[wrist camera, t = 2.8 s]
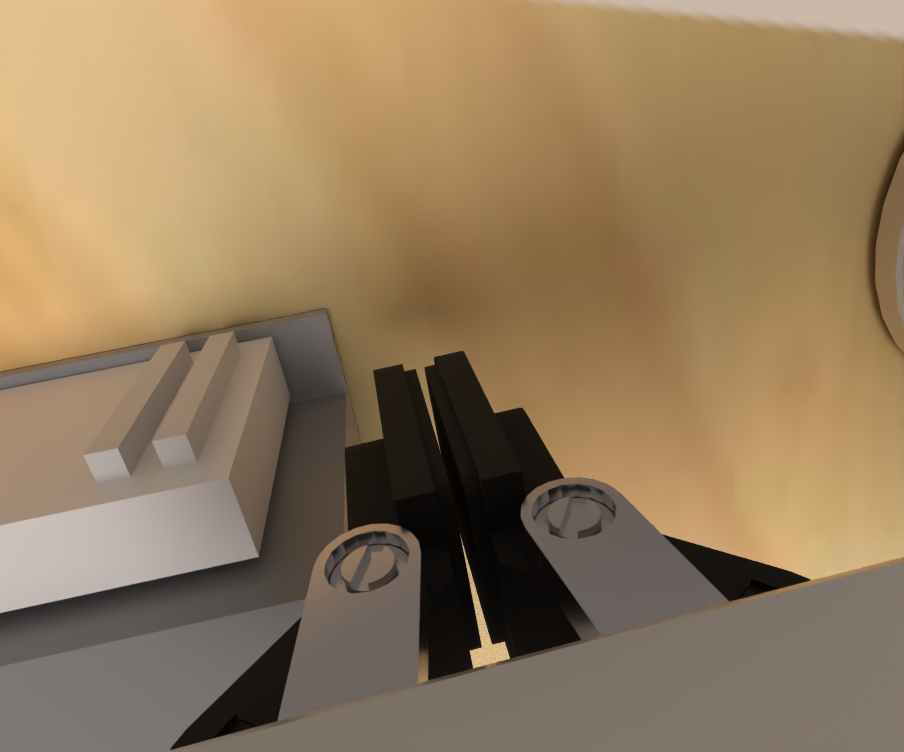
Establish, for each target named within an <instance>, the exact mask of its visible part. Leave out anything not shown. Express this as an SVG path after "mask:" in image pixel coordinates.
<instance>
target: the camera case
mask: <svg viewBox="0 0 904 752" xmlns="http://www.w3.org/2000/svg"><path fill="white" fill-rule="evenodd" d="M232 331H234V334H235V337H236V340H237V343H241V342H246V341H252V340H257V339H262V338H267V337H272V338H273V341H274V345H275V348H276V351H277V354H278V358H279V361H280V364H281V367H282V370H283V374H284V377H285V380H286V383H287V387H288V390H289V393H290V400H289V405H288V410H287V415H286V421H285V426H284V431H283V436H282V441H281V446H280V451H279V456H278V462H277V467H276V472H275V477H274V482H273V487H272V492H271V497H270V503H269V508H268V513H267V518H266V523H265V528H264V533H263V538H262V544H261V549H260V554H259V557H256V558H251V559H247V560H242V561H238V562H233V563H228V564H224V565H219V566H215V567H210V568H205V569H201V570H196V571H192V572H187V573H182V574H178V575H173V576H168V577H164V578H159V579H155V580H150V581H145V582H141V583H136V584H132V585H127V586H122V587H118V588H113V589H109V590H104V591H99V592H95V593H90V594H85V595H81V596H76V597H72V598H67V599H62V600H58V601H53V602H49V603H44V604H39V605H35V606H30V607H25V608H21V609H16V610H12V611H7V612H2V613H0V752H166V751H169V750H170V749H171V747H172V746H173V745H174V743H175V742H176V741H177V740H178V739H179V737H180V736H181V735H182V734H183V733H184V731H185V730H186V729H187V728H188V727H189V726H190V725H191V724H192V723H193V722H194V721H195V720H196V719H197V718H198V717H199V716H200V715H201V714H202V713H203V712H204V711H205V710H206V709H208V708H209V707H210V706H211V705H212V704H213V703H214V702H215V701H216V700H217V699H218V698H219V697H220V696H221V695H222V694H223V693H224V692H225V691H226V690H227V689H228V688H229V687H230V686H231V685H232V684H233V683H234V682H235V681H236V680H237V679H238V678H239V677H240V676H241V675H242V674H243V673H244V672H245V671H246V670H247V669H248V668H249V667H250V666H251V665H252V664H254V663H255V662H256V661H257V660H258V659H259V658H260V657H261V656H262V655H263V654H264V653H265V652H266V651H267V650H268V649H269V648H270V647H271V646H272V645H273V644H274V643H275V642H276V641H277V640H278V639H279V638H280V637H281V636H282V635H283V634H284V633H285V632H286V631H287V630H288V629H289V628H290V627H291V626H292V625H293V624H294V623H295V622H296V621H297V620H298V619H300V618H301V617H302V613H303V609H304V605H305V601H306V596H307V592H308V588H309V584H310V579H311V575H312V571H313V567H314V565H315V562H316V560H317V558H318V556H319V554H320V553H321V552H322V551H323V550H324V548H325V547H326V546H327V545H328V544H329V543H330V542H332V541H333V540H335V539H336V538H337V537H339V536H340V535H342V534H344V533H346V532H348V520H347V497H346V474H345V448H346V447H349V446H354V445H358V444H362V443H361V439H360V436H359V432H358V428H357V424H356V420H355V416H354V413H353V409H352V405H351V401H350V397H349V393H348V390H347V386H346V382H345V378H344V374H343V370H342V367H341V363H340V359H339V355H338V351H337V347H336V344H335V340H334V336H333V332H332V328H331V324H330V321H329V317H328V313H327V309H321V310H316V311H311V312H306V313H301V314H296V315H291V316H286V317H281V318H275V319H270V320H265V321H260V322H255V323H250V324H245V325H240V326H234V327H229V328H224V329H219V330H214V331H209V332H204V333H199V334H193V335H188V336H183V337H178V338H173V339H168V340H163V341H158V342H153V343H147V344H142V345H137V346H132V347H127V348H122V349H117V350H112V351H106V352H101V353H96V354H91V355H86V356H81V357H76V358H71V359H66V360H60V361H55V362H50V363H45V364H40V365H35V366H30V367H25V368H19V369H14V370H9V371H4V372H0V390H3V389H8V388H13V387H18V386H23V385H28V384H33V383H38V382H43V381H48V380H54V379H59V378H64V377H69V376H74V375H79V374H84V373H89V372H94V371H99V370H104V369H109V368H114V367H120V366H125V365H130V364H135V363H140V362H145V361H150V360H151V358H152V357H153V356H154V354H155V353H156V351H157V350H158V349H159V347H160V346H161V345H166V344H171V343H176V342H181V341H185V342H186V345H187V347H188V350H189V353H191V352H196V351H201V350H202V349H203V347H204V345H205V343H206V341H207V339H208V338H209V336H212V335H217V334H222V333H227V332H232Z"/></svg>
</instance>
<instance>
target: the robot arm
mask: <svg viewBox="0 0 904 752" xmlns="http://www.w3.org/2000/svg"><path fill="white" fill-rule="evenodd" d="M875 284H876V289H877V294H878V299H879V304H880V309H881V314H882V317H883V319H884V321H885V323H886V325H887V327H888V329H889V332H890V334H891V336H892V338H893V340H894V342H895V343H896V345H897V346H898V347H899V348H900V349H901V350H902V351H903V352H904V152H903V154H902V156H901V158H900V160H899V163H898V166H897V168H896V171H895V174H894V177H893V179H892V182H891V185H890V188H889V191H888V193H887V196H886V199H885V202H884V205H883V210H882V216H881V221H880V226H879V231H878V236H877V241H876V264H875ZM434 362H435V365H432V366H428V367H425V374H426V379H427V384H428V389H429V394H430V400H431V405H432V410H433V415H434V420H435V425H436V430H437V435H438V441H439V446H440V449H439V446H438V443H437V439H436V436H435V433H434V429H433V426H432V423H431V419H430V416H429V413H428V409H427V406H426V403H425V399H424V396H423V393H422V389H421V386H420V382H419V379H418V376H417V372H416V369H414V370H409V371H405V372H404V369H403V365H402V364H400V365H396V366H391V367H386V368H382V369H377V370H373V372H374V379H375V385H376V392H377V398H378V405H379V411H380V418H381V424H382V431H383V437H384V439H380V440H376V441H371V442H367V443H362V444H358V445H354V446H349V447H346V448H345V474H346V497H347V520H348V532H346V533H344V534H342V535H340V536H339V537H337V538H336V539H335V540H333V541H332V542H330V543H329V544H328V545H327V546H326V547H325V548H324V550H323V551H322V552H321V553H320V554H319V556H318V558H317V560H316V562H315V565H314V567H313V571H312V575H311V579H310V584H309V588H308V592H307V596H306V601H305V605H304V609H303V613H302V617H301V618H300V619H298V620H297V621H296V622H295V623H294V624H293V625H292V626H291V627H290V628H289V629H288V630H287V631H286V632H285V633H284V634H283V635H282V636H281V637H280V638H279V639H278V640H277V641H276V642H275V643H274V644H273V645H272V646H271V647H270V648H269V649H268V650H267V651H266V652H265V653H264V654H263V655H262V656H261V657H260V658H259V659H258V660H257V661H256V662H255V663H254V664H252V665H251V666H250V667H249V668H248V669H247V670H246V671H245V672H244V673H243V674H242V675H241V676H240V677H239V678H238V679H237V680H236V681H235V682H234V683H233V684H232V685H231V686H230V687H229V688H228V689H227V690H226V691H225V692H224V693H223V694H222V695H221V696H220V697H219V698H218V699H217V700H216V701H215V702H214V703H213V704H212V705H211V706H210V707H209V708H208V709H206V710H205V711H204V712H203V713H202V714H201V715H200V716H199V717H198V718H197V719H196V720H195V721H194V722H193V723H192V724H191V725H190V726H189V727H188V728H187V729H186V730H185V731H184V733H183V734H182V735H181V736H180V737H179V739H178V740H177V741H176V742H175V743H174V745H173V746H172V747H171V749H170V750H169V751H166V752H904V557H903V558H898V559H894V560H890V561H886V562H882V563H879V564H875V565H871V566H867V567H863V568H859V569H855V570H851V571H847V572H843V573H839V574H835V575H831V576H827V577H823V578H819V579H815V580H810V579H808V578H806V577H803V576H800V575H798V574H795V573H793V572H790V571H787V570H784V569H780V568H777V567H773V566H770V565H766V564H763V563H760V562H756V561H753V560H749V559H746V558H742V557H739V556H735V555H732V554H728V553H725V552H721V551H718V550H714V549H711V548H707V547H704V546H701V545H697V544H694V543H690V542H687V541H683V540H680V539H676V538H673V537H669V536H666V535H662V534H661V533H660V532H659V531H658V530H657V529H656V528H655V527H654V526H653V525H652V524H651V523H650V522H649V521H648V520H647V519H646V518H645V517H644V516H643V515H642V514H641V513H640V512H639V511H638V510H637V509H636V508H635V507H634V506H633V505H632V504H631V503H630V502H629V501H628V500H627V499H626V498H625V497H624V496H623V495H622V494H621V493H620V492H618V491H617V490H615V489H614V488H613V487H611V486H610V485H608V484H605V483H603V482H600V481H597V480H593V479H587V478H581V477H579V478H564V477H563V475H562V473H561V472H560V470H559V468H558V467H557V465H556V463H555V462H554V460H553V458H552V456H551V455H550V453H549V451H548V450H547V448H546V446H545V445H544V443H543V441H542V439H541V438H540V436H539V434H538V433H537V431H536V429H535V428H534V426H533V424H532V422H531V421H530V419H529V417H528V416H527V414H526V412H525V411H524V410H523V408H516V409H512V410H508V411H503V412H499V413H494V412H493V410H492V408H491V406H490V404H489V402H488V400H487V398H486V396H485V394H484V392H483V389H482V387H481V385H480V383H479V381H478V379H477V377H476V375H475V373H474V371H473V369H472V367H471V365H470V363H469V361H468V359H467V357H466V355H465V353H464V351H460V352H455V353H451V354H446V355H442V356H437V357H434ZM440 451H441V453H440ZM460 535H461V536H460ZM461 538H462V542H463V545H464V549H465V552H466V556H467V559H468V563H469V566H470V570H471V573H472V576H473V580H474V583H475V587H476V590H477V594H478V597H479V601H480V604H481V608H482V611H483V615H484V618H485V621H486V625H487V628H488V632H489V635H490V639H491V642H492V644H497V643H500V642H504V641H505V643H506V647H507V650H508V653H509V656H510V659H508V660H504V661H500V662H496V663H492V664H489V665H485V666H481V667H477V668H474V669H472V668H473V665H472V661H471V656H470V650H474V649H477V648H481V647H482V646H481V641H480V635H479V630H478V625H477V620H476V614H475V609H474V604H473V599H472V594H471V588H470V583H469V578H468V573H467V568H466V562H465V557H464V552H463V547H462V542H461Z"/></svg>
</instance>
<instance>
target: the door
mask: <svg viewBox="0 0 904 752" xmlns="http://www.w3.org/2000/svg"><path fill="white" fill-rule="evenodd" d="M289 400H290V393H289V390H288V387H287V383H286V380H285V377H284V374H283V370H282V367H281V364H280V361H279V358H278V354H277V351H276V348H275V345H274V341H273V338H272V337H267V338H262V339H257V340H252V341H246V342H241V343H237V340H236V337H235V334H234V331H232V332H227V333H222V334H217V335H212V336H209V338H208V339H207V341H206V343H205V345H204V347H203V349H202V350H201V351H196V352H191V353H189V350H188V347H187V345H186V342H185V341H181V342H176V343H171V344H166V345H161V346H160V347H159V349H158V350H157V351H156V353H155V354H154V356H153V357H152V358H151V360H150V361H145V362H140V363H135V364H130V365H125V366H120V367H114V368H109V369H104V370H99V371H94V372H89V373H84V374H79V375H74V376H69V377H64V378H59V379H54V380H48V381H43V382H38V383H33V384H28V385H23V386H18V387H13V388H8V389H3V390H0V613H2V612H7V611H12V610H16V609H21V608H25V607H30V606H35V605H39V604H44V603H49V602H53V601H58V600H62V599H67V598H72V597H76V596H81V595H85V594H90V593H95V592H99V591H104V590H109V589H113V588H118V587H122V586H127V585H132V584H136V583H141V582H145V581H150V580H155V579H159V578H164V577H168V576H173V575H178V574H182V573H187V572H192V571H196V570H201V569H205V568H210V567H215V566H219V565H224V564H228V563H233V562H238V561H242V560H247V559H251V558H256V557H259V554H260V549H261V544H262V538H263V533H264V528H265V523H266V518H267V513H268V508H269V503H270V497H271V492H272V487H273V482H274V477H275V472H276V467H277V462H278V456H279V451H280V446H281V441H282V436H283V431H284V426H285V421H286V415H287V410H288V405H289Z"/></svg>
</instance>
